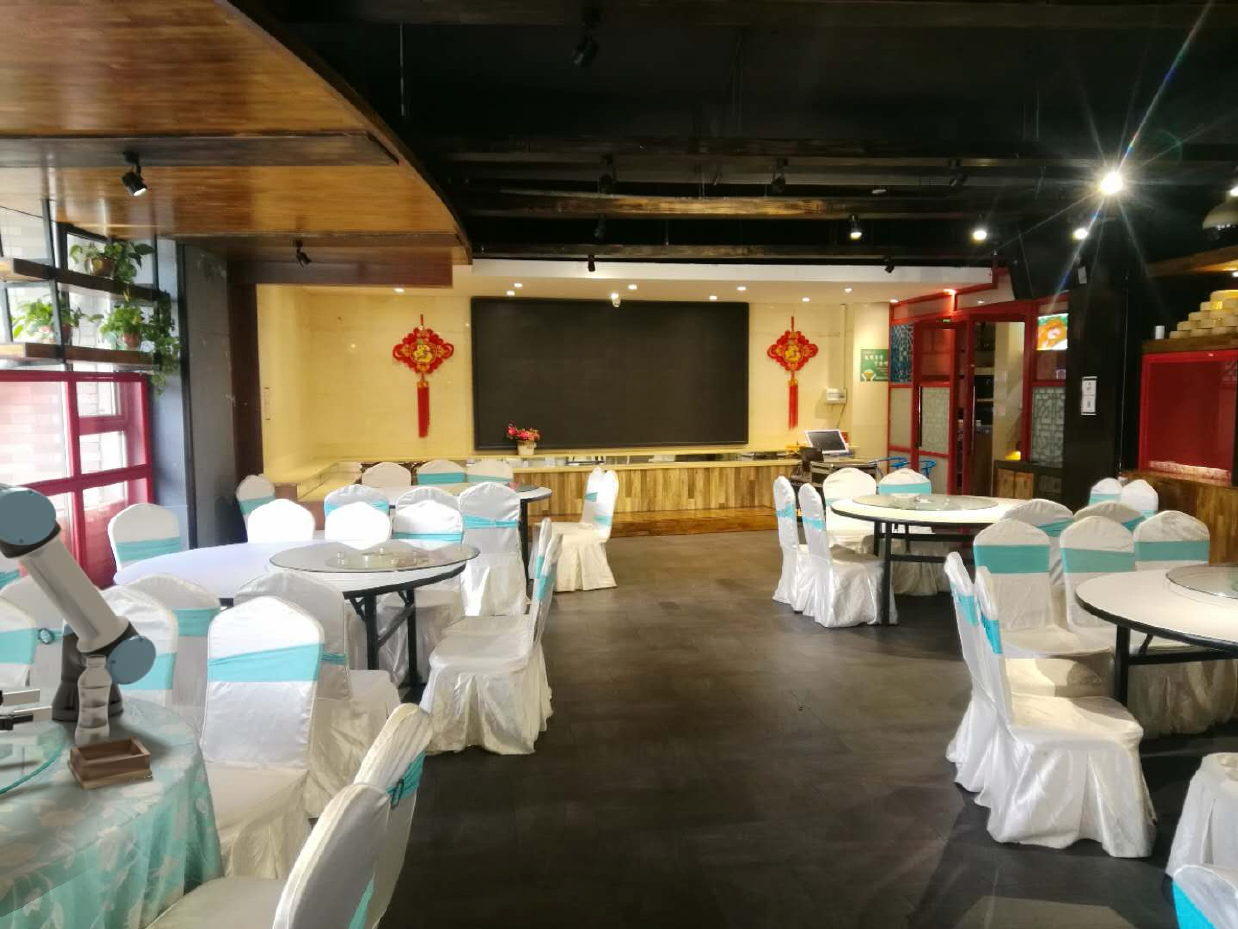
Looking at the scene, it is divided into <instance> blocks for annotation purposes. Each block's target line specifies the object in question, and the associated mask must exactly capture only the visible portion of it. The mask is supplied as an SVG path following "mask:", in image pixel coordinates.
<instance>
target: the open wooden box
mask: <svg viewBox="0 0 1238 929" xmlns="http://www.w3.org/2000/svg"><path fill="white" fill-rule="evenodd" d="M67 765H68V767H69V769H70V770H71V772H73V774H74V777H76V779H77V781H78V782H79V784H80V785H81V787H82V788H83V790H84V791H86V790H90V789H94V788H95V789H96V788H101V787H107V786H110V785H111V786H112V785H116V784H121V783H122V784H123V783H125V781H127V782H131V781H130V780H132V781H134V780H133V779H137V780H141V778H142V779H145V778H144V777H147V778H149V777H148V776H151V775H152V776H153V771H152V769H151V768H150V767H151V752H149V751H148V749H146V747H145V746H144V745H143V744H142V743H141V741H139V739H138V738H137V737H136V736H132V737H126V738H125V737H124V738H120V739H114V740H113V739H112V740H107V742H101V743H95V744H89V745H83V746H78V745H77V746H71V747H70V752H69V758H67ZM106 785H107V786H106Z"/></svg>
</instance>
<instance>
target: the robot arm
mask: <svg viewBox="0 0 1238 929" xmlns="http://www.w3.org/2000/svg"><path fill="white" fill-rule="evenodd" d="M56 519H57V511H56V508H55V506H54V504H53V503H52V500H50V499H49V498H48V497H47V496H46V495H45V494H43V493H41V492H39V491H37V490H36V489H33V488H30V487H26V486H21V485H20V486H19V485H18V486H17V485H11V484H7V483H2V482H0V552H1V554H2V556H4V558H5V559H7V560H16V561H18V562H19V563H20V564H21V566H22V567H23V569H24V570H25V571H26V572H27V573H28V575H29V576H30V577H31V579H32V580H33V581H34V582H35V584H36V585H37V586H38V588H39V589H40V590H41V591H42V593H43V594H44V595H45V596H46V598H47V599H48V600H49V602H51V604H52V605H53V607H54V608H55V609H56V611H57V612H58V613H59V614H60V616H61V617H62V618H63V620H64V621H65V622H66V624H65V625H64V627H63V631H62V636H61V638H62V644H61V647H62V648H61V649H62V650H61V665H60V666H61V668H60V683H59V685H58V687H57V690H56V692H55V694H54V697H53V699H52V701H51V704H50V705H49V706H42V707H36V708H35V707H34V708H28V709H21V710H13V713H11V712H9V713H8V712H0V731H8V732H10V731H13V730H14V726H19V725H27V724H33V723H39V722H40V723H41V722H46V721H52V719H55V720H59V721H66V722H78V718H79V707H80V705H79V691H78V680H79V677H80V676H81V674H82V673H83V672H84V671H85V670H86V669H87V666H86V663H87V657H88V656H92V655H105V656H106V665H105V668H106V669H107V670H108V672H109V673H110V675H111V677H112V683H111V688H110V693H109V699H108V708H107V711H108V717H111V716H113V715H116V714H117V713H120V712H121V711H122V710H123V702H124V700H123V696H122V692H121V688H120V687H119V685H120V686H124V685H125V686H126V685H127V686H128V685H131V684H135V683H136V682H139V681H140V680H142V679H143V678H145V677H146V675H147V674H148V673H149V672H151V670H152V668H153V667H154V665H155V660H156V658H157V649H156V645H155V644H154V643H153V641H152V640H150V639H149V638H148V637H147V636H145V635H141V634H140V633H139V632H138V631H137V629H136V628H135V627H134V625H133V623H131V621H130V620H129V618H128V617H127V616H125V615H117V614H116V613H115V612H114V611H113V608H111V607H110V605H109V604H108V602H107V601H106V600H105V598H104V597H103V596H102V594H101V593H100V592H99V590H98V589H97V587H96V586H95V585H94V584H93V582H92V580H90V578H89V577H88V575H87V573H85V571H84V570H83V568H82V567H81V565H80V564H79V562H77V560H76V559H75V558H74V556H73V555H72V553H71V552H70V551H69V549H68V548H67V546H66V545H65V544H64V543H63V541H62V540H61V538H60V536H61V532H62V527H61V525H60V524H59V522H58V521H57V520H56ZM40 697H41V689H40V688H36V689H30V690H21V691H12V692H5V693H3V689H0V706H2V708H5V707H12V706H19V705H27V704H35V703H40V702H41V701H40Z"/></svg>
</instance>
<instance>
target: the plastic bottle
mask: <svg viewBox="0 0 1238 929" xmlns="http://www.w3.org/2000/svg"><path fill="white" fill-rule="evenodd" d="M105 665H106V656H105V655H92V656H88V657H87V663H86V666H87V669H86V670H85V671H84V672H83V673H82V674H81V676H80V677H79V680H78V691H79V705H80V707H79V718H78V721H77V726H76V729H75V732H74V733H75V734H74V741H75V744H76V745H77V746H83V745H89V744H95V743H101V742H107V741H109V738H110V732H111V731H110V724H109V716H108V711H107V708H108V699H109V693H110V688H111V683H112V677H111V675H110V673H109V672H108V670H107V669H106V668H105Z"/></svg>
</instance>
